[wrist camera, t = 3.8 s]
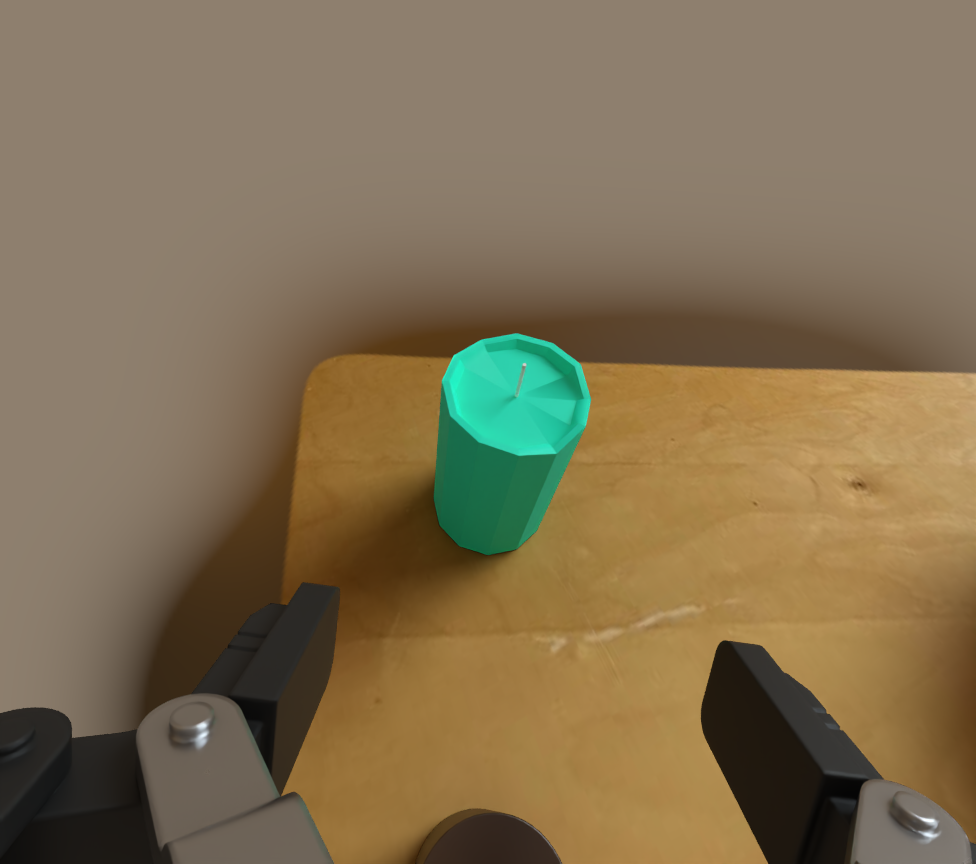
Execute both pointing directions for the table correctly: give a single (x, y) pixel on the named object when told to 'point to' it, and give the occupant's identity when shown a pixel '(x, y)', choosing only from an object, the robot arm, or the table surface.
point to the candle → (505, 438)
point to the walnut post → (486, 841)
